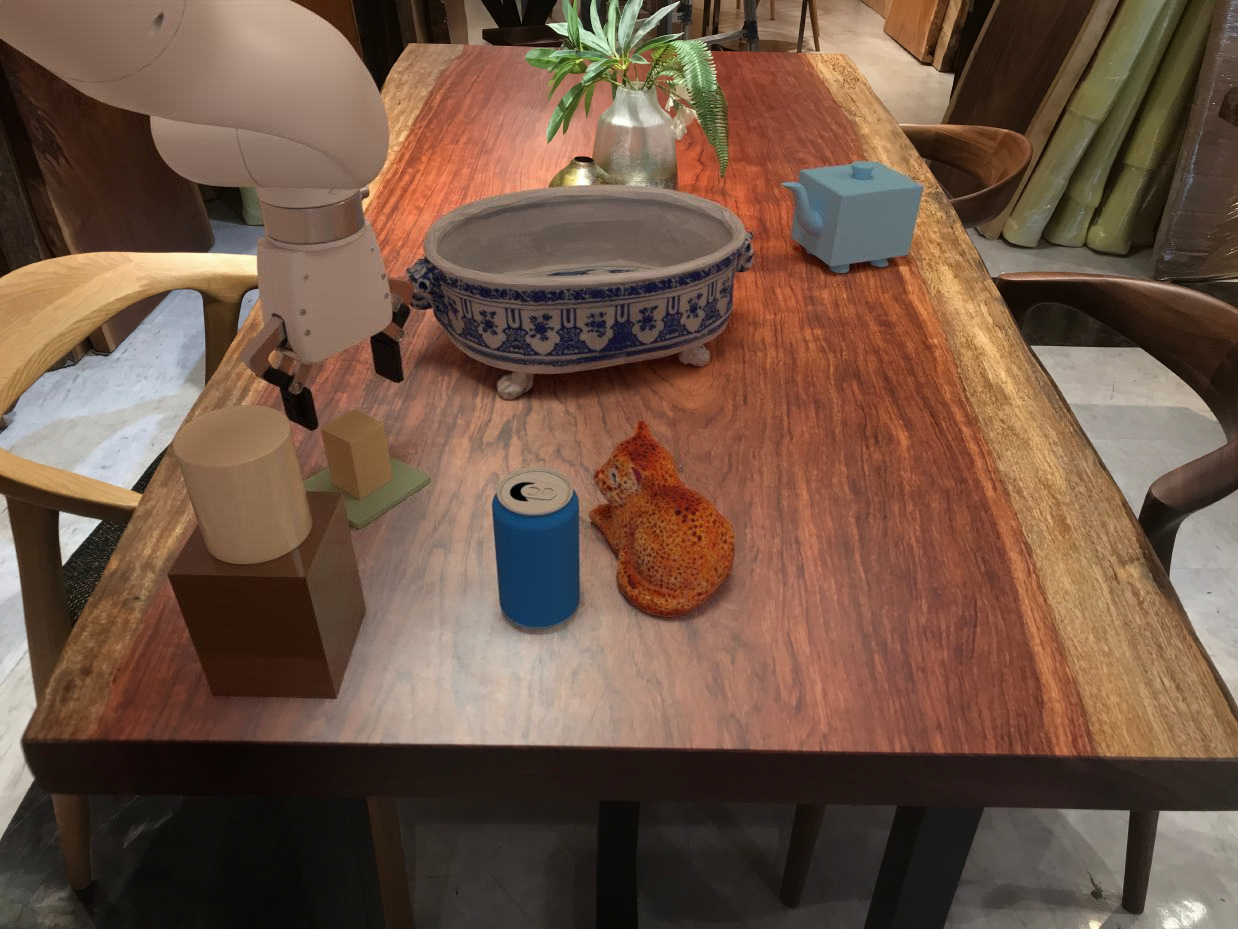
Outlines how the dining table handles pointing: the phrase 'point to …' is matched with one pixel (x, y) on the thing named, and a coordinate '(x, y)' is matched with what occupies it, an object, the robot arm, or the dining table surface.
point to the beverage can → (537, 546)
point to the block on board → (376, 499)
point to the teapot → (854, 213)
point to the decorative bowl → (581, 278)
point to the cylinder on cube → (263, 561)
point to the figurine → (660, 529)
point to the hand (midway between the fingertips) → (348, 400)
